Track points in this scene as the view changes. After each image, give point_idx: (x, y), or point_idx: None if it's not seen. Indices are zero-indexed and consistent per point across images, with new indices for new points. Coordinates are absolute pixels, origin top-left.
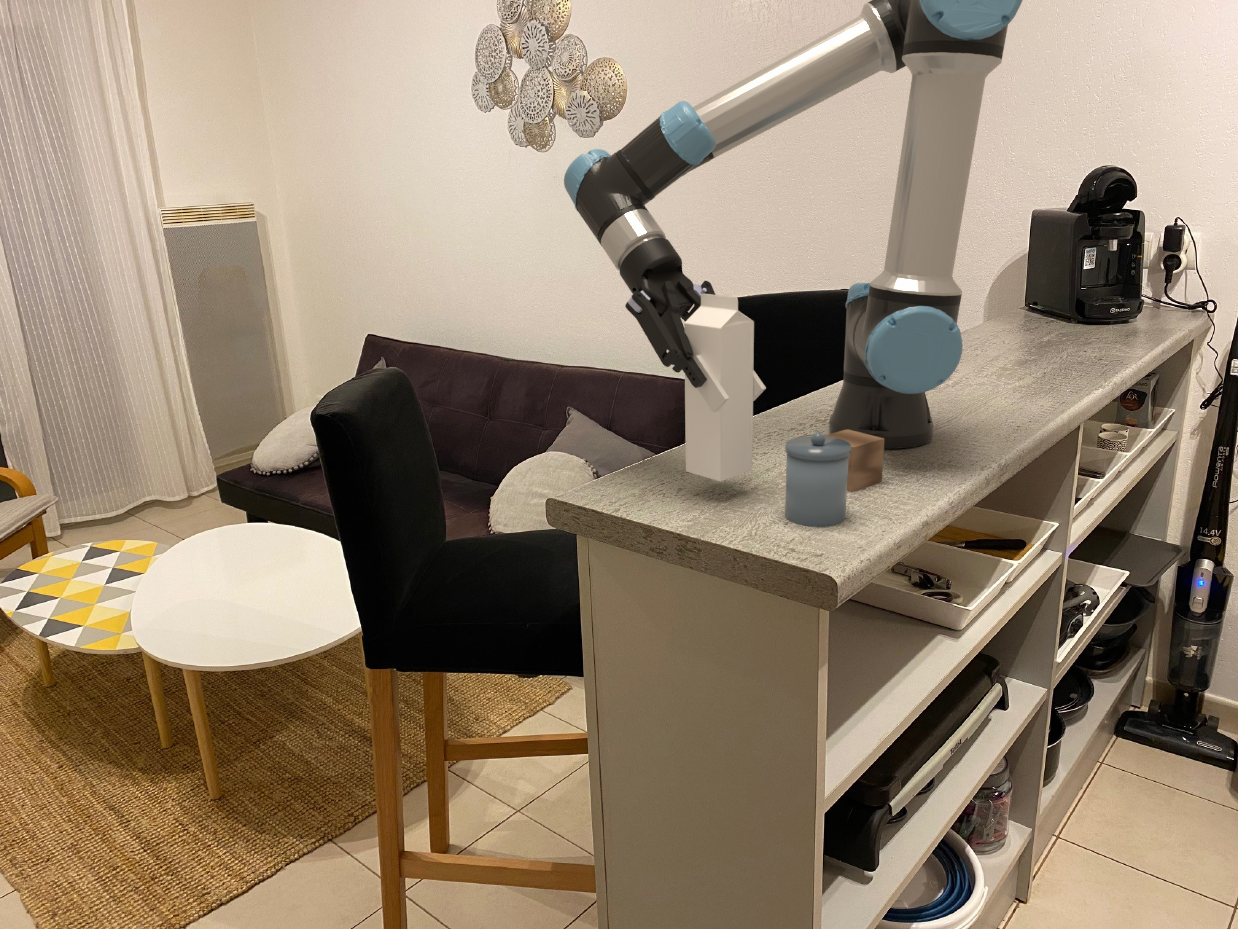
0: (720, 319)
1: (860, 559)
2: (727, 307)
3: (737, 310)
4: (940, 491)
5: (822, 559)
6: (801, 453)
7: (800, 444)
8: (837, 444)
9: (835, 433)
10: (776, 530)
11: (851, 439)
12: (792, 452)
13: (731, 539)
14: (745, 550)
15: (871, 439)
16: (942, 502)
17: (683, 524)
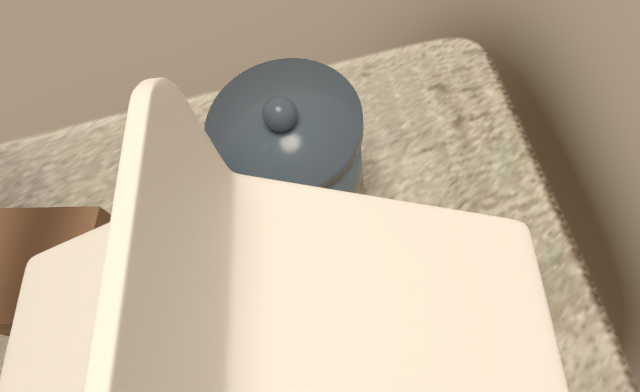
0: (437, 321)
1: (400, 48)
2: (210, 371)
3: (231, 171)
4: (53, 150)
5: (446, 75)
6: (360, 106)
7: (312, 145)
8: (249, 97)
9: (8, 317)
10: (417, 194)
11: (40, 252)
12: (362, 132)
13: (518, 212)
14: (528, 163)
15: (16, 222)
16: (104, 118)
17: (557, 335)
